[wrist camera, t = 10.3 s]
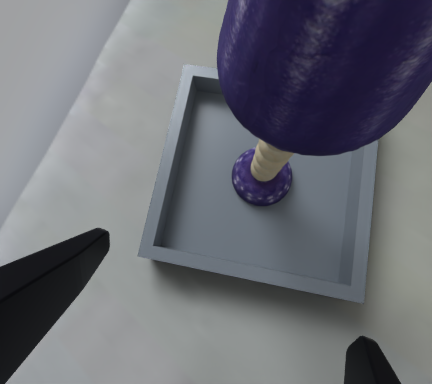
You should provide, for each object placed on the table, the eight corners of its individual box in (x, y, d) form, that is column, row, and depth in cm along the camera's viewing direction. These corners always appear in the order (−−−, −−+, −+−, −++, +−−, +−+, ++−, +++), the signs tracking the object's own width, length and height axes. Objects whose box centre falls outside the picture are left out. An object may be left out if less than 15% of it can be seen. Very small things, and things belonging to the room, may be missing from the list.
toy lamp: (306, 198, 19) (847, -140, 2) (245, 226, 18) (334, 93, 2) (274, 139, 19) (487, -401, 3) (216, 165, 19) (124, -248, 3)
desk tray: (149, 254, 19) (137, 256, 17) (189, 84, 22) (184, 63, 19) (345, 295, 18) (363, 303, 15) (364, 109, 20) (382, 90, 18)
